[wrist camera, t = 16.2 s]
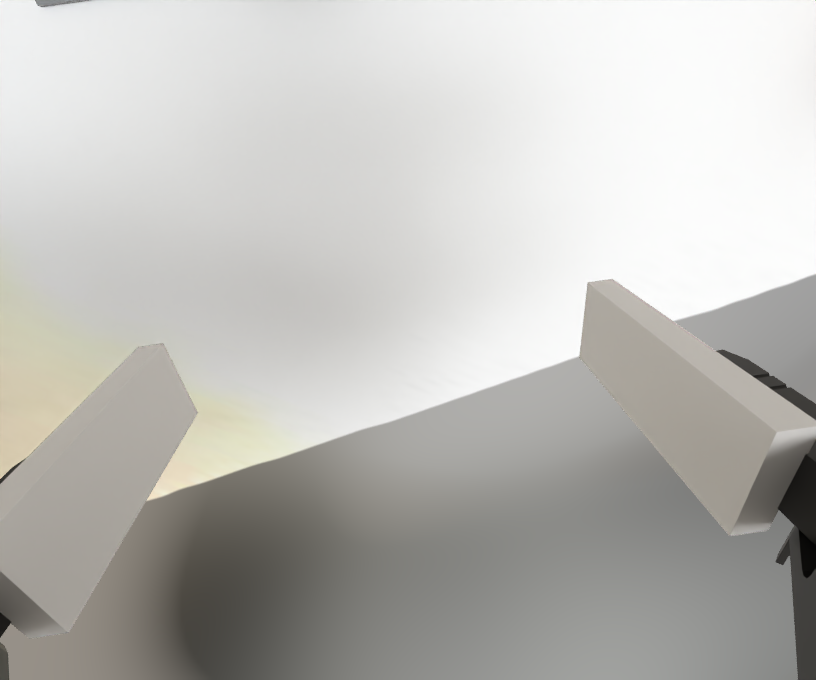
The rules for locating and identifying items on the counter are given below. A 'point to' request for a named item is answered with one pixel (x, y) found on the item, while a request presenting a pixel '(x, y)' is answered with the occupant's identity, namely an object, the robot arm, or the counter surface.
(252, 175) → the counter surface
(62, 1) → the grey flat square frame
